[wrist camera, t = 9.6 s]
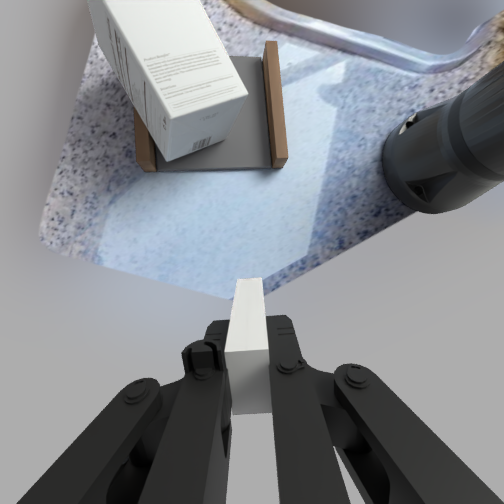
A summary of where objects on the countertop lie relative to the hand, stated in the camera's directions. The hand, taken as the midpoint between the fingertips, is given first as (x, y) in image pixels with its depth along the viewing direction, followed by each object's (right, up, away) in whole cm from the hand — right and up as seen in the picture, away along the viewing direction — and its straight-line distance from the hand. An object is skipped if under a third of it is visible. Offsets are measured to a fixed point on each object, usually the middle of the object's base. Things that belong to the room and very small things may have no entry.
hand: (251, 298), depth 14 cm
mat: (-6, +22, +18) cm, 29 cm away
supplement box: (-5, +16, +12) cm, 20 cm away
